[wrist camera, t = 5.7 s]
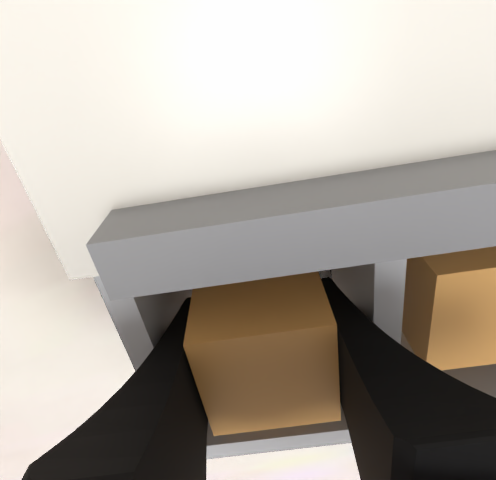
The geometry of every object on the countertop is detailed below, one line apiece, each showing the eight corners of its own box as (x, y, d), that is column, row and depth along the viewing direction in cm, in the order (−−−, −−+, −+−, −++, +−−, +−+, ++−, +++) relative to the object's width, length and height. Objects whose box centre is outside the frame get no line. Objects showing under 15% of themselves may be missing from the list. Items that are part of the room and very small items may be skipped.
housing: (641, -278, 8) (1194, -713, 4) (499, 307, 17) (602, 414, 12) (34, -147, 9) (-191, -350, 4) (193, 348, 18) (176, 462, 13)
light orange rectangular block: (304, 231, 13) (336, 324, 9) (311, 312, 15) (341, 420, 11) (200, 247, 14) (183, 345, 9) (220, 325, 16) (213, 436, 11)
